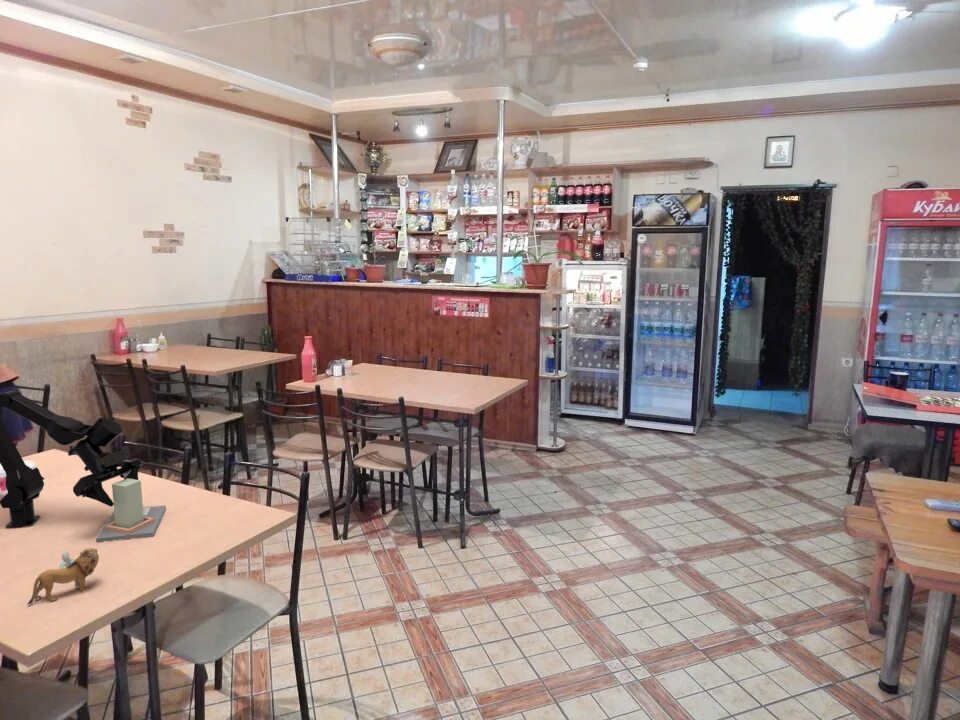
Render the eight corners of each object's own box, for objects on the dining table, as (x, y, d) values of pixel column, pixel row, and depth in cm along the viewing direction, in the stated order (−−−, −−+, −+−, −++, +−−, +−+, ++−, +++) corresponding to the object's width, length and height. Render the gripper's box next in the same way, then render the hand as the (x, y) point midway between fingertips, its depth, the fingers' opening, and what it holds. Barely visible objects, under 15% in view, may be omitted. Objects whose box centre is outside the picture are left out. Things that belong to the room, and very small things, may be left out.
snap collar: (105, 529, 173) (104, 525, 172) (131, 517, 181) (130, 513, 180) (129, 534, 170) (128, 530, 170) (154, 522, 178) (154, 518, 178)
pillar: (115, 528, 174) (111, 484, 172) (130, 521, 178) (127, 478, 176) (129, 530, 172) (125, 486, 170) (144, 523, 177) (140, 480, 175)
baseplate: (114, 514, 186) (114, 509, 186) (166, 509, 190) (165, 504, 190) (96, 542, 167) (95, 537, 167) (153, 536, 172) (153, 531, 171)
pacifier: (87, 564, 156) (59, 570, 153) (86, 541, 155) (57, 546, 152) (89, 576, 150) (59, 583, 147) (88, 552, 150) (58, 558, 146)
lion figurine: (96, 577, 150) (93, 542, 148) (105, 584, 146) (102, 549, 145) (24, 602, 138) (19, 565, 137) (31, 611, 135) (27, 573, 134)
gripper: (76, 449, 164) (111, 494, 163) (135, 431, 182) (167, 472, 180) (57, 474, 168) (91, 518, 166) (117, 454, 185) (148, 494, 184)
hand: (126, 499), depth 174 cm, fingers open, 9 cm apart
